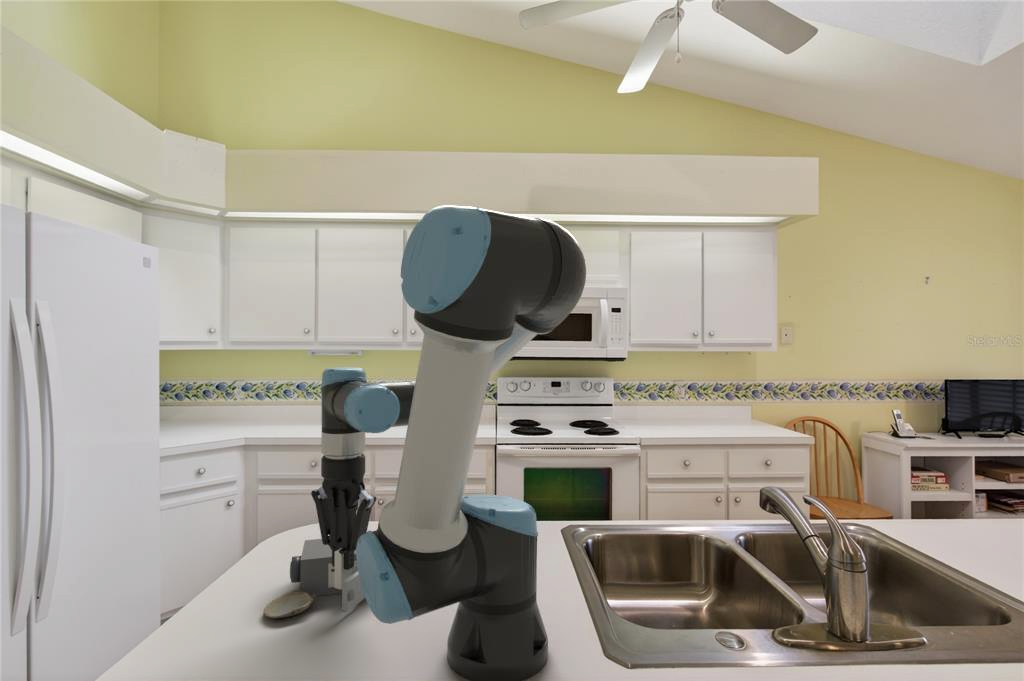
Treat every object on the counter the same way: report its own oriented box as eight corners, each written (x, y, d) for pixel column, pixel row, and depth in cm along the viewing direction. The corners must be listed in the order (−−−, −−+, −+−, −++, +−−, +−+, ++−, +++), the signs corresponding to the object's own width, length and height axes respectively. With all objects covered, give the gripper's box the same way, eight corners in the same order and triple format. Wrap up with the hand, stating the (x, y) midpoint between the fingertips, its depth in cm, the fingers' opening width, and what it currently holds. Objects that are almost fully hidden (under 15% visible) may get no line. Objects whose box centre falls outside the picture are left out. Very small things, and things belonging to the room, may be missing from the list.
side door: (383, 585, 102) (383, 558, 102) (349, 612, 92) (349, 583, 92) (376, 584, 103) (376, 557, 103) (341, 611, 93) (341, 581, 93)
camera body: (390, 587, 104) (390, 547, 104) (288, 600, 99) (288, 557, 99) (387, 566, 113) (387, 529, 113) (293, 576, 108) (293, 537, 108)
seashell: (277, 612, 98) (254, 625, 90) (276, 594, 99) (254, 605, 91) (322, 605, 98) (303, 617, 90) (321, 587, 99) (302, 597, 91)
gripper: (386, 453, 98) (385, 583, 99) (329, 446, 103) (329, 570, 104) (359, 462, 91) (358, 602, 92) (299, 454, 97) (299, 587, 97)
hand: (342, 585), depth 98 cm, fingers closed
